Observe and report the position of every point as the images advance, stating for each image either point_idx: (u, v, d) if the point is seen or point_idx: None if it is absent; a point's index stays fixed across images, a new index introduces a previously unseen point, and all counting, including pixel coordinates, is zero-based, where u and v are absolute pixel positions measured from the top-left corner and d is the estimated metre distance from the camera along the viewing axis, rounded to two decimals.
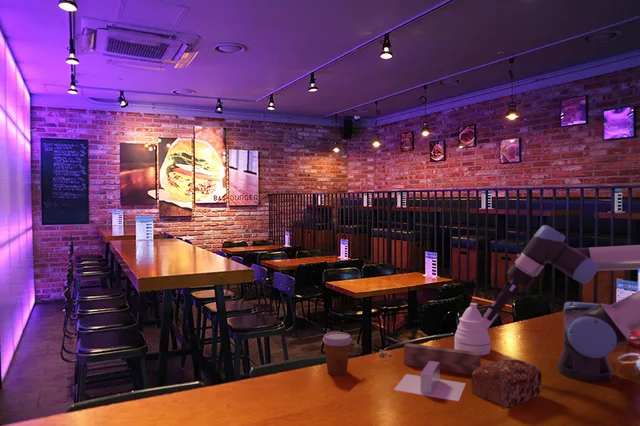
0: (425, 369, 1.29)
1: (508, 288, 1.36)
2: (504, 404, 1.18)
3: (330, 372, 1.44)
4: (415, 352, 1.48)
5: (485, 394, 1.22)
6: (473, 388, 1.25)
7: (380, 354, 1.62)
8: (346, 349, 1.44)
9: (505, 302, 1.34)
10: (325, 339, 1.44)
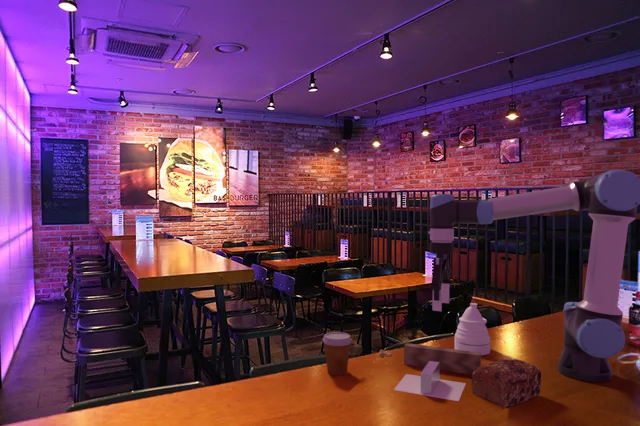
0: (425, 369, 1.29)
1: (434, 263, 1.40)
2: (504, 404, 1.18)
3: (330, 372, 1.44)
4: (415, 352, 1.48)
5: (485, 394, 1.22)
6: (473, 388, 1.25)
7: (380, 354, 1.62)
8: (346, 349, 1.44)
9: (438, 276, 1.38)
10: (325, 339, 1.44)
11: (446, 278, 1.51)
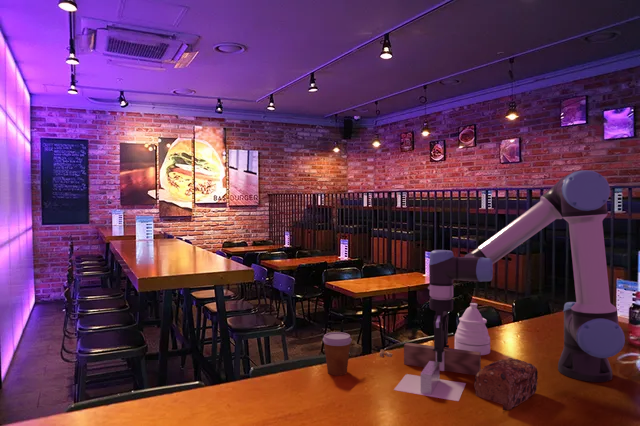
0: (425, 369, 1.29)
1: (435, 327, 1.41)
2: (511, 404, 1.18)
3: (330, 372, 1.44)
4: (415, 351, 1.48)
5: (490, 396, 1.21)
6: (477, 390, 1.23)
7: (380, 354, 1.63)
8: (346, 349, 1.44)
9: (440, 340, 1.40)
10: (325, 339, 1.44)
11: (444, 339, 1.47)
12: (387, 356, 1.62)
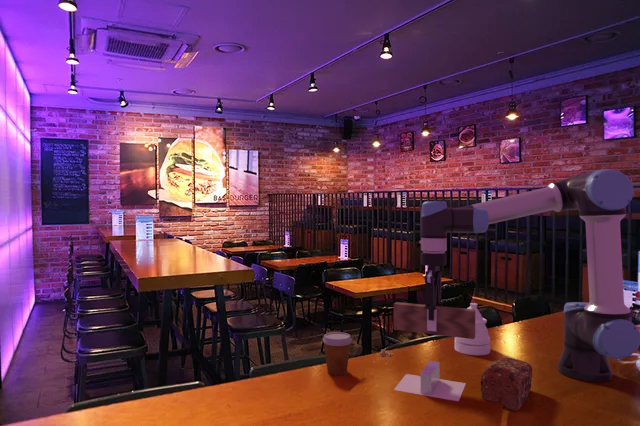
0: (425, 369, 1.29)
1: (426, 282, 1.31)
2: (519, 405, 1.18)
3: (330, 372, 1.44)
4: (405, 310, 1.38)
5: (498, 398, 1.19)
6: (483, 393, 1.21)
7: (381, 354, 1.63)
8: (346, 349, 1.44)
9: (432, 296, 1.30)
10: (325, 339, 1.44)
11: (436, 298, 1.37)
12: (387, 355, 1.62)
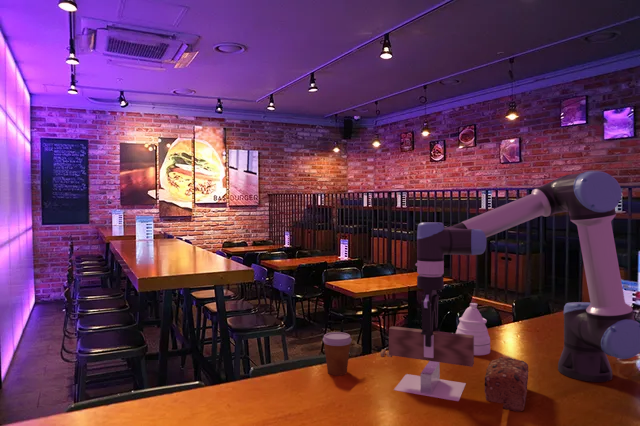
0: (425, 369, 1.29)
1: (422, 307, 1.25)
2: (524, 405, 1.18)
3: (330, 372, 1.44)
4: (401, 335, 1.33)
5: (503, 399, 1.19)
6: (488, 395, 1.20)
7: (381, 354, 1.63)
8: (346, 349, 1.44)
9: (429, 322, 1.25)
10: (325, 339, 1.44)
11: (433, 322, 1.32)
12: (388, 356, 1.63)
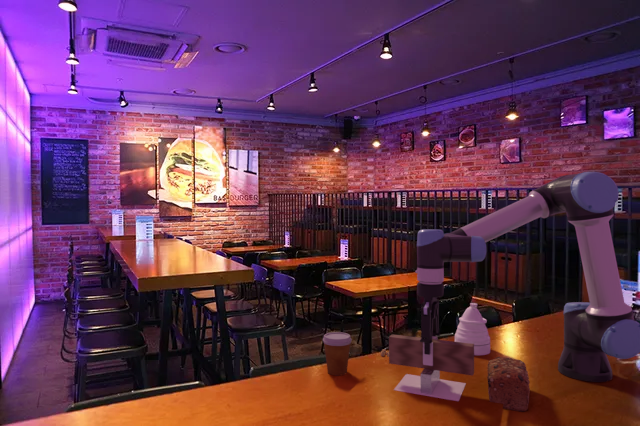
0: (425, 369, 1.29)
1: (422, 313, 1.25)
2: None
3: (330, 372, 1.44)
4: (401, 344, 1.33)
5: (507, 399, 1.18)
6: (492, 396, 1.20)
7: (381, 353, 1.63)
8: (346, 349, 1.44)
9: (428, 329, 1.24)
10: (325, 339, 1.44)
11: (434, 328, 1.33)
12: (388, 356, 1.63)
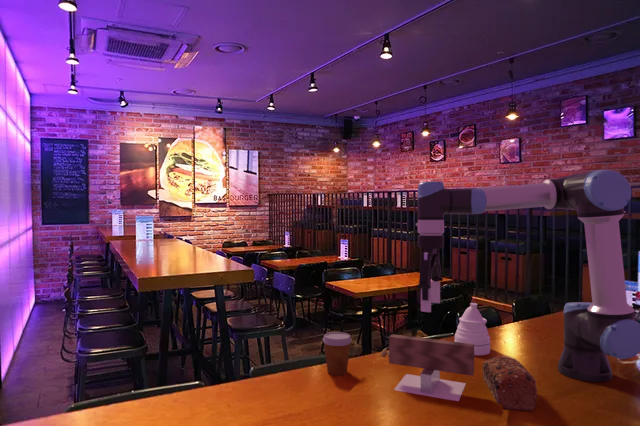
0: (425, 369, 1.29)
1: (422, 258, 1.25)
2: None
3: (330, 372, 1.44)
4: (401, 344, 1.33)
5: (515, 400, 1.18)
6: (500, 398, 1.18)
7: (382, 353, 1.63)
8: (346, 349, 1.44)
9: (427, 273, 1.23)
10: (325, 339, 1.44)
11: (436, 275, 1.36)
12: None
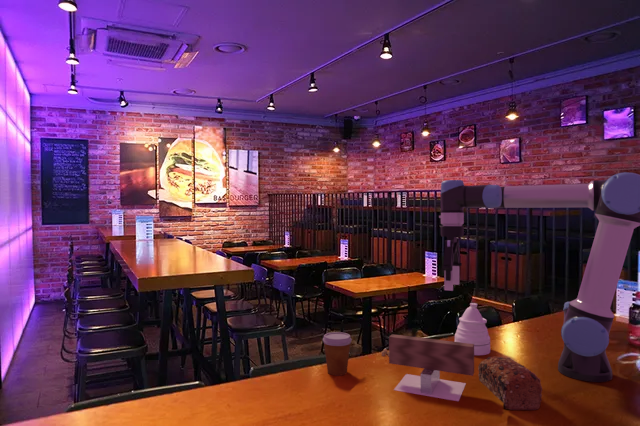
0: (425, 369, 1.29)
1: (446, 245, 1.47)
2: None
3: (330, 372, 1.44)
4: (401, 344, 1.33)
5: (522, 400, 1.18)
6: (508, 399, 1.18)
7: (382, 353, 1.63)
8: (346, 349, 1.44)
9: (450, 257, 1.45)
10: (325, 339, 1.44)
11: (456, 260, 1.58)
12: None
